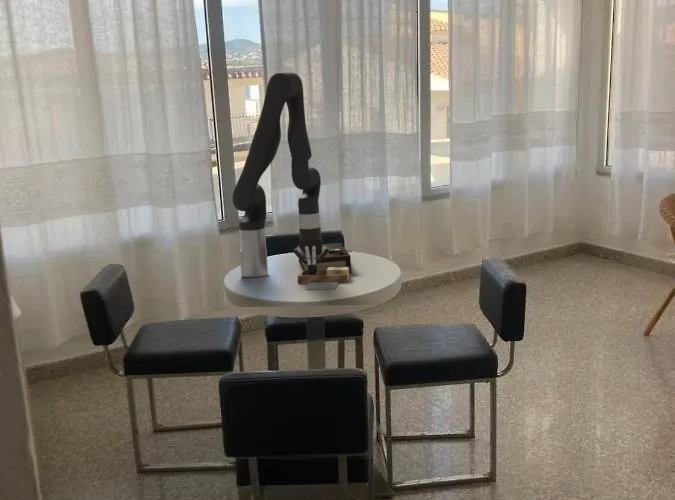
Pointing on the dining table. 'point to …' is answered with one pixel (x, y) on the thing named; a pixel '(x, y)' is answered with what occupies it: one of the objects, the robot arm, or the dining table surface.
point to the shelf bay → (320, 277)
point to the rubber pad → (321, 285)
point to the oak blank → (338, 271)
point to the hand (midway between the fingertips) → (313, 274)
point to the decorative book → (331, 258)
